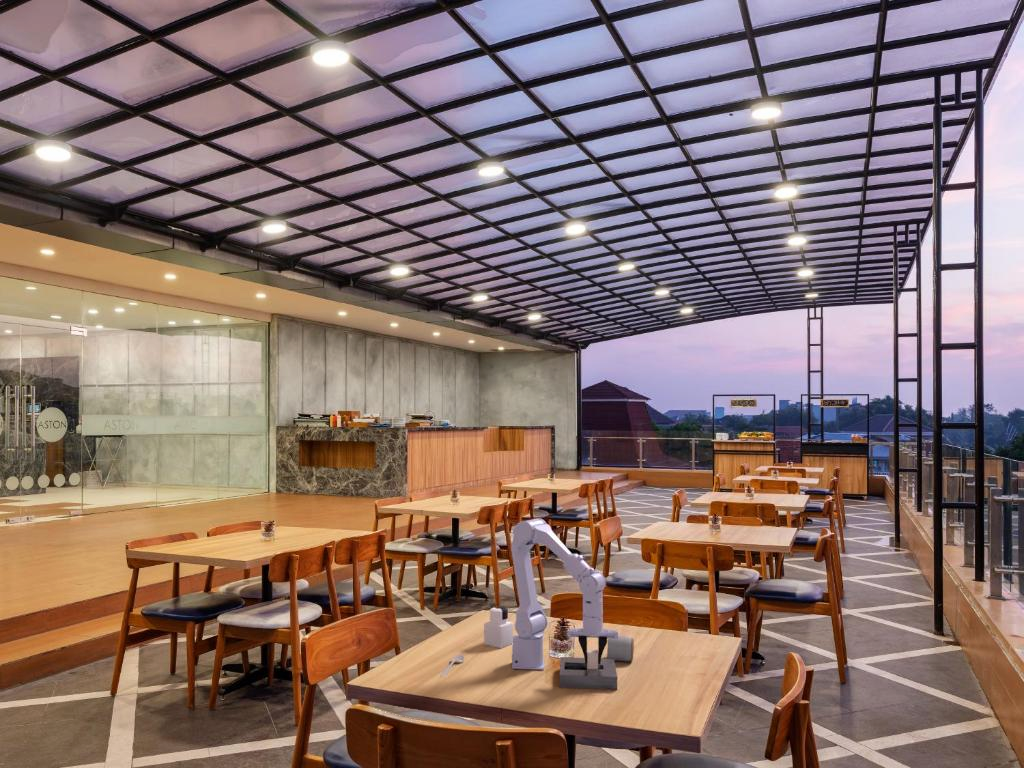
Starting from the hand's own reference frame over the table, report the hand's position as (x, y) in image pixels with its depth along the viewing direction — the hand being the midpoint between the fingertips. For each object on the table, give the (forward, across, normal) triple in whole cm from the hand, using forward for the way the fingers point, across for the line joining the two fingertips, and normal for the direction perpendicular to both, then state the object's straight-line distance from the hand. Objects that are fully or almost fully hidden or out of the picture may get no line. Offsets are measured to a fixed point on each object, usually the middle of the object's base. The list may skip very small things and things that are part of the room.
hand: (592, 662), depth 220 cm
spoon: (+5, -42, +5) cm, 43 cm away
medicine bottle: (+5, -30, +31) cm, 44 cm away
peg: (+5, 0, 0) cm, 5 cm away
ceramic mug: (+5, +9, +20) cm, 23 cm away
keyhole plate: (+5, -1, 0) cm, 5 cm away
